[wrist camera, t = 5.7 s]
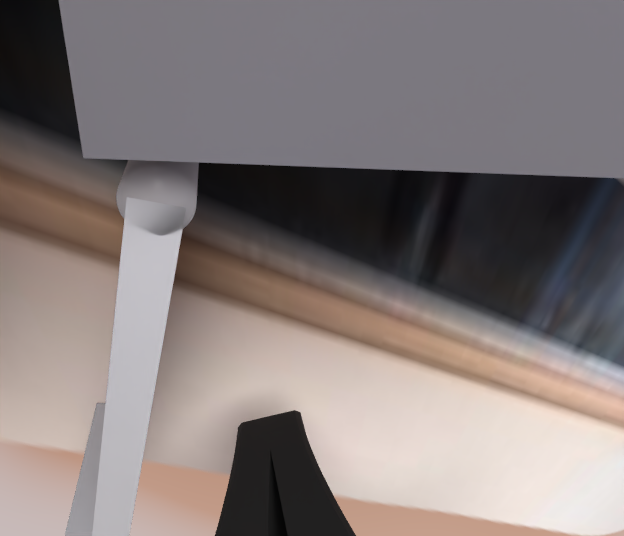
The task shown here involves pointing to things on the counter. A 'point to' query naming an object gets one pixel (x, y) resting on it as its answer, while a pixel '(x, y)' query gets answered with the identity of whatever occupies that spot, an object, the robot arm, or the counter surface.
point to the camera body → (353, 83)
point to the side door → (134, 342)
